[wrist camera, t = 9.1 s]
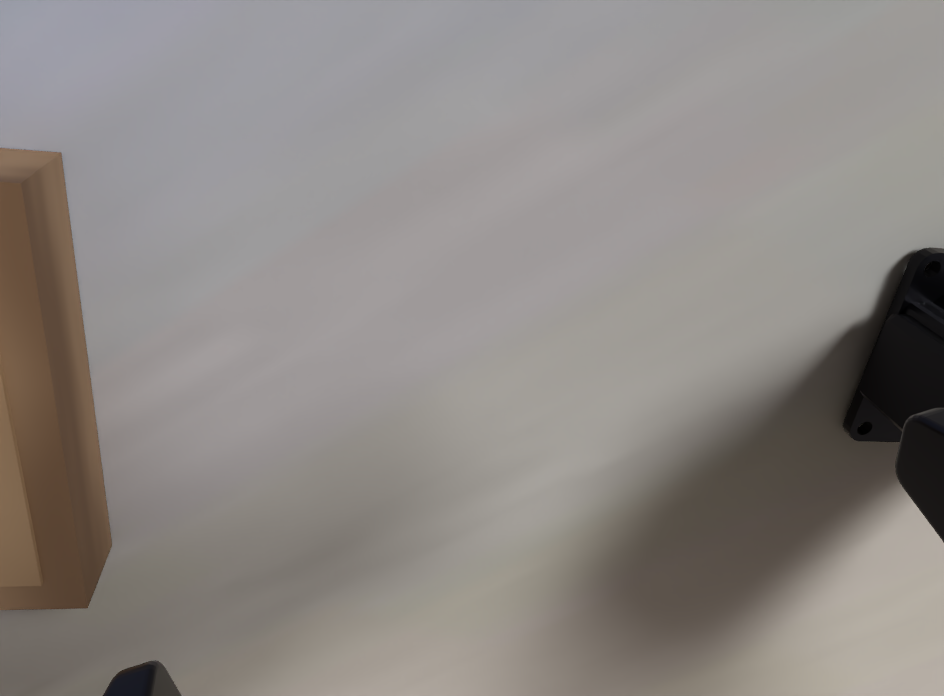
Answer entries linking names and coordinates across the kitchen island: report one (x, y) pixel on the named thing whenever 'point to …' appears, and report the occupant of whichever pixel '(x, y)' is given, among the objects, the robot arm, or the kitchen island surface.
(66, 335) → the base block
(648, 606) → the kitchen island surface
